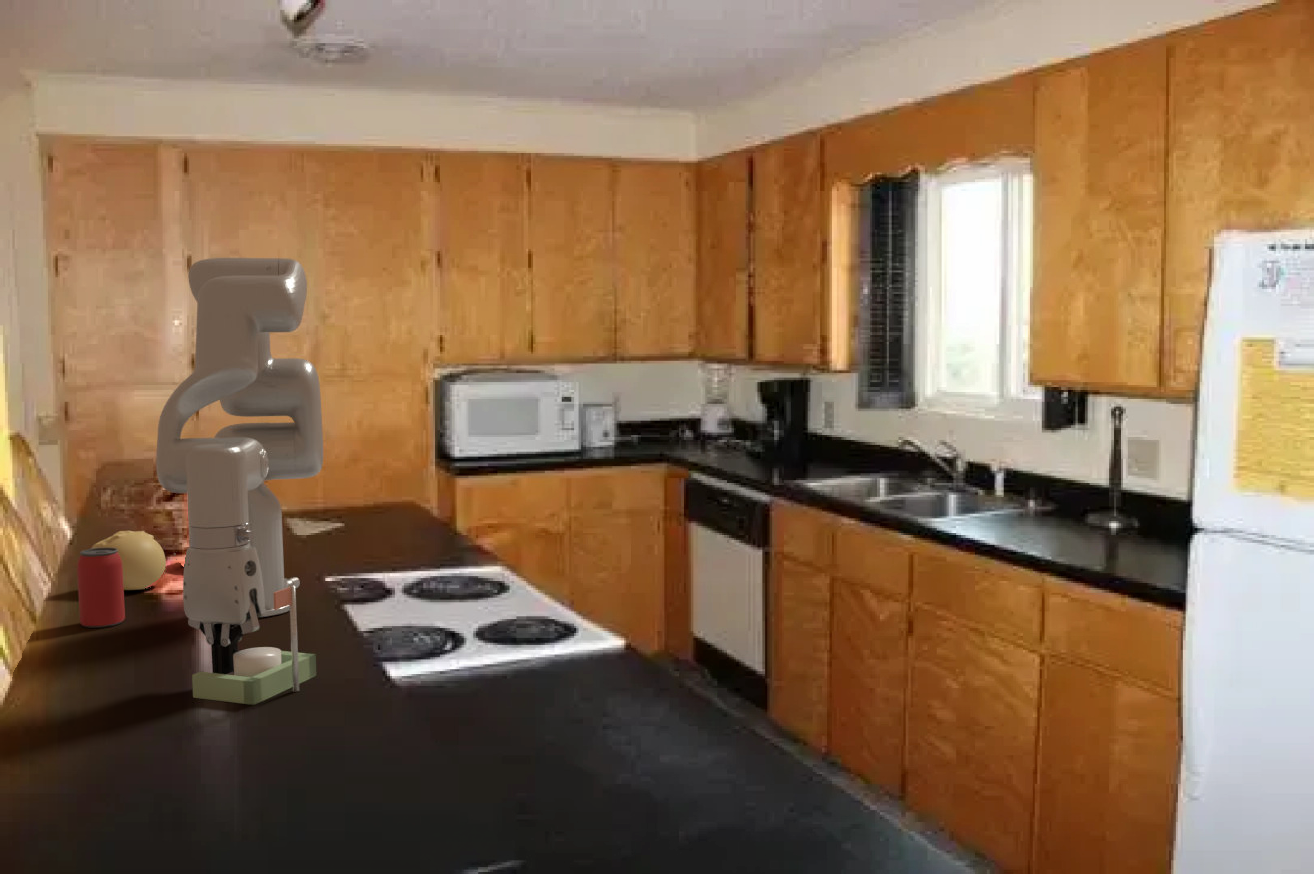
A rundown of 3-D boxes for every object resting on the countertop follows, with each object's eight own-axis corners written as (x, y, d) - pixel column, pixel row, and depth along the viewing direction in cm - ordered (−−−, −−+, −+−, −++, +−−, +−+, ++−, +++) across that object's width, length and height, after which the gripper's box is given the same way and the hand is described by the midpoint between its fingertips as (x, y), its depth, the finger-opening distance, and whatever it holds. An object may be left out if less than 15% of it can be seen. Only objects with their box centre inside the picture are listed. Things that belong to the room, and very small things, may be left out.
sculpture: (143, 579, 224) (140, 523, 222) (178, 587, 216) (176, 529, 215) (84, 590, 214) (80, 532, 213) (119, 598, 207) (116, 538, 206)
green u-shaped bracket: (258, 669, 163) (254, 570, 162) (328, 676, 160) (324, 575, 158) (193, 697, 151) (188, 590, 150) (266, 706, 147) (262, 596, 146)
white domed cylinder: (257, 677, 160) (255, 645, 159) (292, 682, 157) (290, 649, 157) (224, 690, 154) (223, 656, 154) (260, 695, 152) (258, 661, 151)
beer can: (107, 629, 186) (103, 555, 185) (71, 627, 187) (66, 553, 186) (134, 619, 192) (130, 547, 191) (98, 617, 194) (94, 546, 192)
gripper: (284, 535, 157) (289, 669, 158) (194, 529, 162) (200, 659, 163) (247, 545, 149) (253, 685, 151) (153, 539, 154) (160, 674, 156)
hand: (225, 671), depth 157 cm, fingers closed
